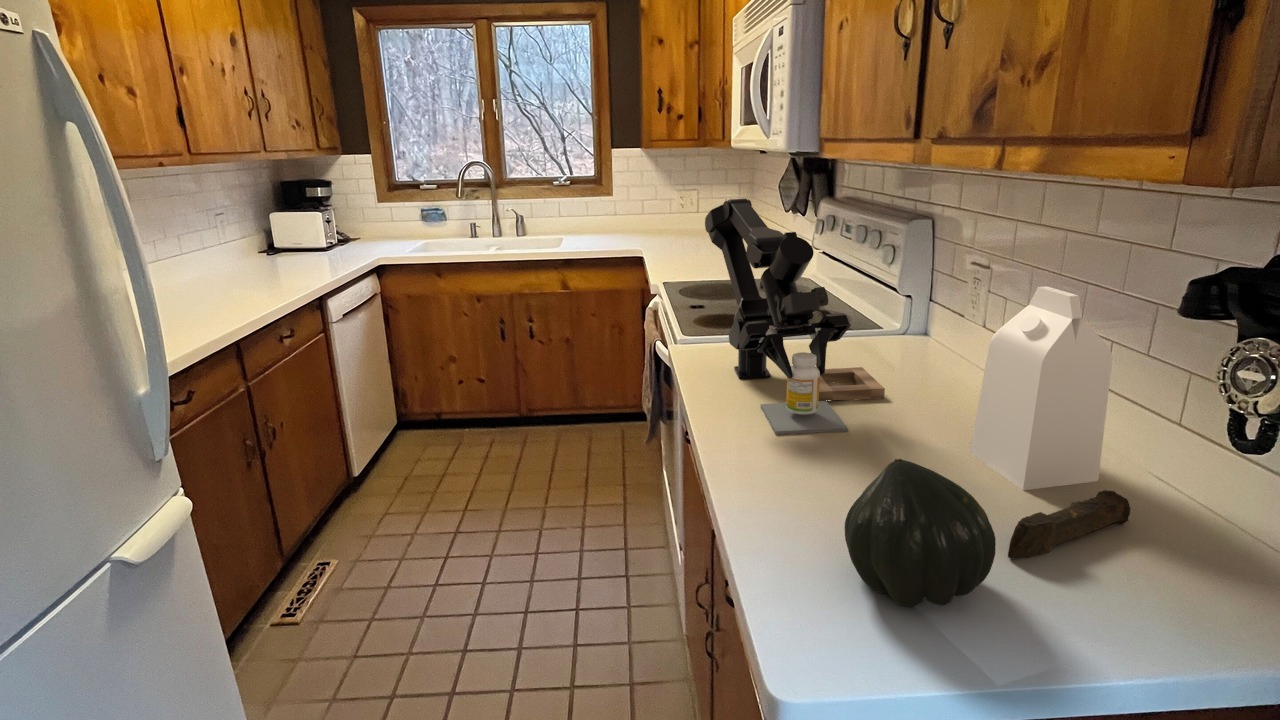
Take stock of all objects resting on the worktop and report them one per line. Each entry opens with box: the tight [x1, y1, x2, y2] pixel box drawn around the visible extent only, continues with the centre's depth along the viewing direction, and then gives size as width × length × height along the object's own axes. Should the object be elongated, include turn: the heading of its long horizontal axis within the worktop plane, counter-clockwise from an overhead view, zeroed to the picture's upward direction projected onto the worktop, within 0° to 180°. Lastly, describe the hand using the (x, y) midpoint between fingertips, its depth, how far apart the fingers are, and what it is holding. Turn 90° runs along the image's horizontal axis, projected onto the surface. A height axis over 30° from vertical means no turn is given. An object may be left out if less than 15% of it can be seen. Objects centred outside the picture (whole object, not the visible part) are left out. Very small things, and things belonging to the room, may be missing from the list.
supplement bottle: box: [785, 352, 820, 415], centre depth 118 cm, size 5×5×10 cm
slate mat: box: [760, 401, 849, 436], centre depth 120 cm, size 12×12×1 cm
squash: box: [844, 457, 997, 608], centre depth 75 cm, size 14×15×15 cm
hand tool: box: [1007, 489, 1132, 560], centre depth 83 cm, size 19×4×5 cm, turn 113°
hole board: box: [819, 366, 886, 401], centre depth 133 cm, size 12×12×2 cm
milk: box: [969, 285, 1113, 491], centre depth 97 cm, size 12×12×26 cm
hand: (806, 375), depth 117 cm, fingers closed on supplement bottle, 5 cm apart
